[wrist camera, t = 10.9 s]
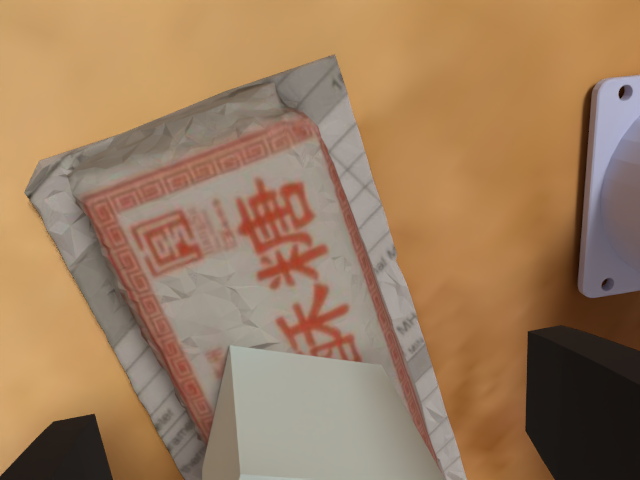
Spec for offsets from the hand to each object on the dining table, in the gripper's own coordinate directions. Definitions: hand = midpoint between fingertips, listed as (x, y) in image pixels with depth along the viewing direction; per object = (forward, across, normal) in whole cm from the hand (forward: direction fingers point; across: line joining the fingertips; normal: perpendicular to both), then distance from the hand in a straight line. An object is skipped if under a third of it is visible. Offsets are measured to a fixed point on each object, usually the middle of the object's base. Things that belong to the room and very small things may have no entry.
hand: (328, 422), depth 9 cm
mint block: (+6, 0, +4) cm, 7 cm away
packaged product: (+11, 0, +4) cm, 12 cm away
